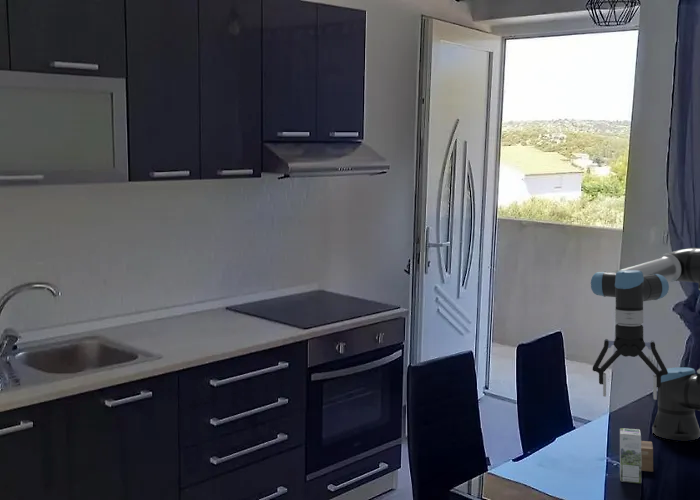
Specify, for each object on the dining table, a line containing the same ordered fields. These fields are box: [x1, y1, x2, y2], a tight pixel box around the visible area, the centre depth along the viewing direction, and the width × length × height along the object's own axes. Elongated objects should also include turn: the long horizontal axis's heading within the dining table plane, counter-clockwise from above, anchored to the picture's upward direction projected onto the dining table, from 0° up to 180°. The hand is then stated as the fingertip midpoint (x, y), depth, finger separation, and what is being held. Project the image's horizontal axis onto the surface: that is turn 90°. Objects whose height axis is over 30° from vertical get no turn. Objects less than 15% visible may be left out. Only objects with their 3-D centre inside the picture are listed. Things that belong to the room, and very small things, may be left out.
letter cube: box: [641, 440, 654, 473], centre depth 224 cm, size 7×7×7 cm
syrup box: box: [619, 428, 642, 484], centre depth 214 cm, size 6×6×14 cm
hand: (629, 397), depth 213 cm, fingers open, 13 cm apart
